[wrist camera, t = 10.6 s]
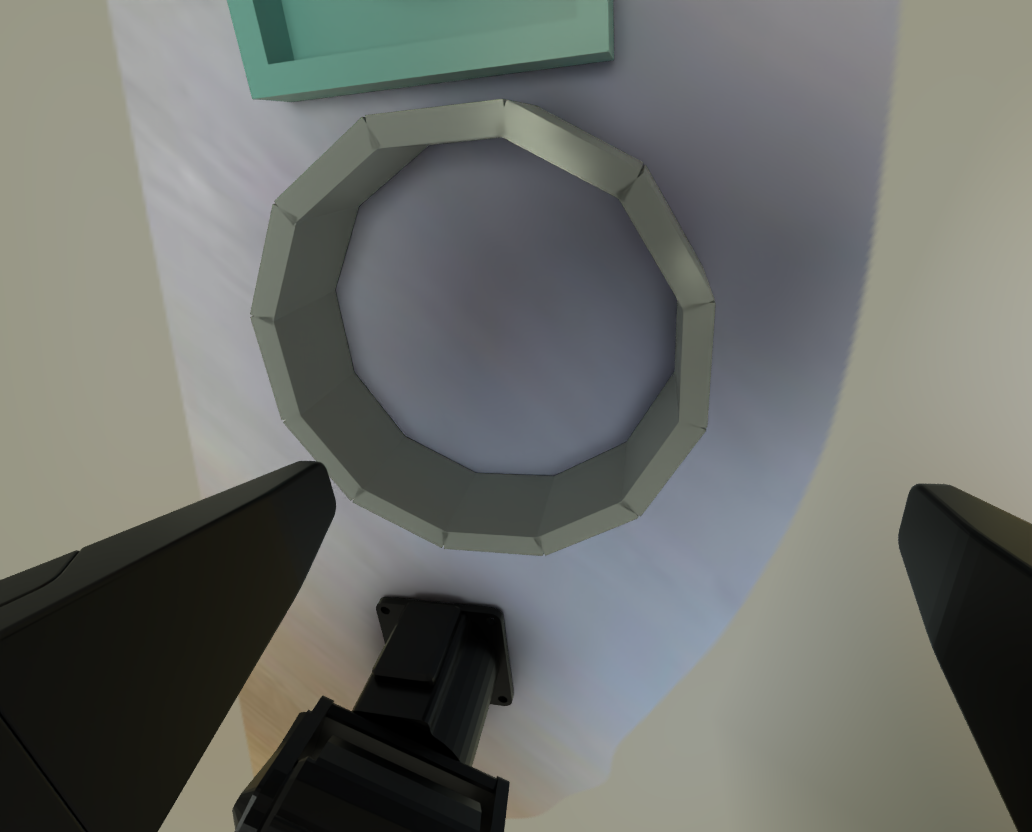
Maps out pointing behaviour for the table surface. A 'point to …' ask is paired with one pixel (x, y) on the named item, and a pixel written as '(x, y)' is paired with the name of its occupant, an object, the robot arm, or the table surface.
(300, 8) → the tray
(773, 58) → the table surface
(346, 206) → the ring
